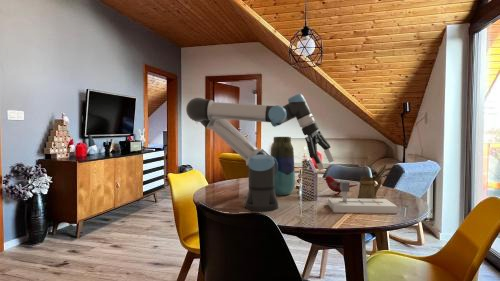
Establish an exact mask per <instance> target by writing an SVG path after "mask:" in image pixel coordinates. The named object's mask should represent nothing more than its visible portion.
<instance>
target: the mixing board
mask: <svg viewBox="0 0 500 281" xmlns="http://www.w3.org/2000/svg"><path fill="white" fill-rule="evenodd" d="M327 200H328V201H327V204H328V207H329V208H330V209H331V211H332V212H333V213H343V214H344V213H349V214H350V213H353V214H354V213H357V214H359V213H360V214H398V206H397V205H396V204H394V203H393V202H391V201H389V200H388V199H386V198H377V199H357V198H348V197H347V201H342V198H339V197H338V198H337V197H336V198H333V197H330V198H329V197H328V198H327Z"/></svg>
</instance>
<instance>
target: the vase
mask: <svg viewBox="0 0 500 281" xmlns="http://www.w3.org/2000/svg"><path fill="white" fill-rule="evenodd" d="M291 139H292V138H291V136H273V144H272V146H271V149H270V156H273V157H274V158H275V159H276V161H277V163H278V171H277V173H276V175H275V176H274V191H275V194H276V196H288V195H291V194H292V193H293V191H294V189H295V185H296V172H295V154H294V147H293V145H292V140H291Z"/></svg>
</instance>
